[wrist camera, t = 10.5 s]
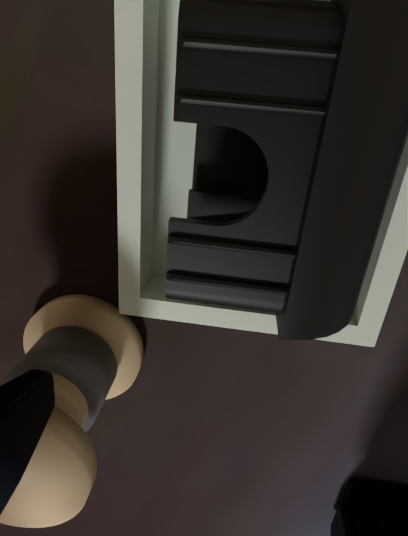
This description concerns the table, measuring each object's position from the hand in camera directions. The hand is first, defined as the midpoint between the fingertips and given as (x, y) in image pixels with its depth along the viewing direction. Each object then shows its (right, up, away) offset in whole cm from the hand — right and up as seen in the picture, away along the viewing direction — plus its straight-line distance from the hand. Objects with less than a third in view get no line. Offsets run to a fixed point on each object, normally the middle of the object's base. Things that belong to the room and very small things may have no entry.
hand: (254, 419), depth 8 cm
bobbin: (-8, -1, +14) cm, 17 cm away
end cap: (+2, +8, +9) cm, 12 cm away
